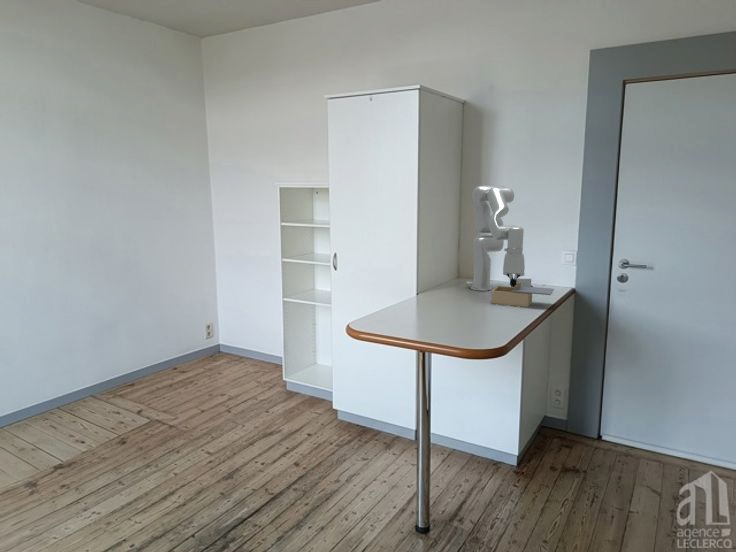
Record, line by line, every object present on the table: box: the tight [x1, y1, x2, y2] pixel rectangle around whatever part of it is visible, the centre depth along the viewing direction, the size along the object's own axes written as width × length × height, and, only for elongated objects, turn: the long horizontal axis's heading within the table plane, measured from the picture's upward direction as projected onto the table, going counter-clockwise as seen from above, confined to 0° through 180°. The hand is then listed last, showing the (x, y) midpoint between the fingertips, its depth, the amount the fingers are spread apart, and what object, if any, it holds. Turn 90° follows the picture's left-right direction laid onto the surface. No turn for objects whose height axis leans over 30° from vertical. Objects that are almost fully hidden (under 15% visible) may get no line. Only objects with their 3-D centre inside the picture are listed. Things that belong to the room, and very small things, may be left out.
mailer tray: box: [491, 285, 533, 308], centre depth 261 cm, size 18×14×7 cm
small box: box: [516, 276, 532, 287], centre depth 277 cm, size 8×6×10 cm
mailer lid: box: [511, 282, 555, 296], centre depth 256 cm, size 19×15×3 cm
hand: (513, 286), depth 260 cm, fingers closed
